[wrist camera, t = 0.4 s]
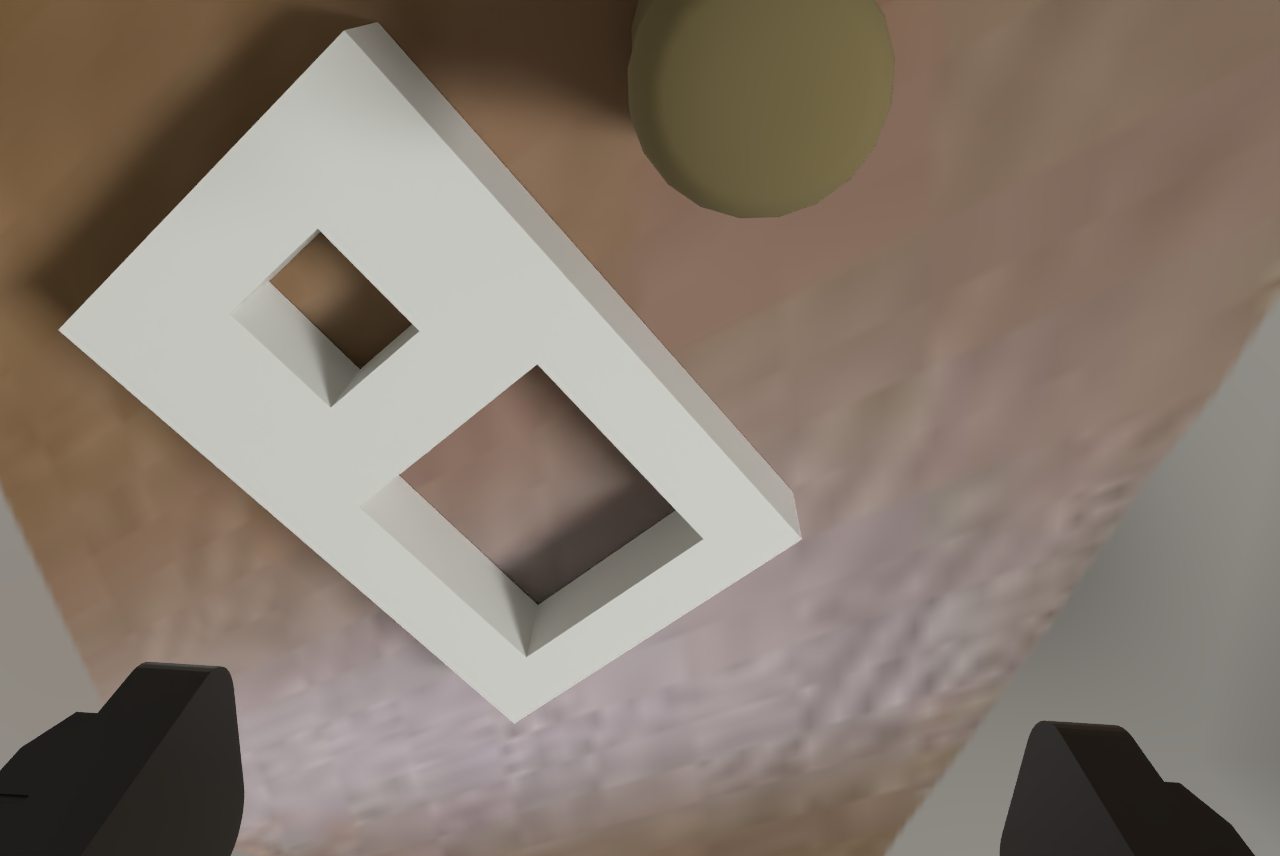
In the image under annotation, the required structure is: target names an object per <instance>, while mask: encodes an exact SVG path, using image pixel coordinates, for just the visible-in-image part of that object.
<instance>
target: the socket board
mask: <svg viewBox="0 0 1280 856" xmlns="http://www.w3.org/2000/svg"><path fill="white" fill-rule="evenodd" d="M320 232H322V233H323V234H324V235H325V236H326V237H327V238H328V240H329V241H330V242H331V243H332V244H333V245H334V246H335V247H336V248H337V249H338V250H339V251H340V252H341V253H342V254H343V255H344V256H345V257H346V258H347V259H348V260H349V261H350V262H351V263H352V264H353V265H354V266H355V267H356V268H357V269H358V270H359V271H360V272H361V273H362V274H363V275H364V276H365V277H366V278H367V279H368V280H369V281H370V282H371V283H372V284H373V285H374V286H375V287H376V288H377V289H378V290H379V291H380V292H381V293H382V294H383V295H384V296H385V297H386V298H387V299H388V300H389V301H390V302H391V303H392V304H393V305H394V306H395V307H396V308H397V309H398V310H399V311H400V312H401V313H402V314H403V315H404V316H405V317H406V318H407V319H408V320H409V321H410V322H411V323H412V325H411V326H409V327H408V328H407V329H406V330H405V331H404V332H402V333H401V334H400V335H399V336H398V337H397V338H396V339H394V340H393V341H392V342H391V343H390V344H389V345H388V346H386V347H385V348H384V349H383V350H382V351H381V352H379V353H378V354H377V355H376V356H375V357H374V358H373V359H371V360H370V361H369V362H368V363H367V364H366V365H364V366H363V367H362V368H361V369H359V368H358V367H357V366H356V365H355V364H354V363H353V362H352V361H351V360H350V359H349V358H348V357H347V356H346V355H345V354H344V353H342V352H341V351H340V350H339V349H338V348H337V347H336V346H335V345H334V344H333V343H332V342H331V341H330V340H329V339H328V338H327V337H326V336H325V335H324V334H323V333H322V332H321V331H320V330H319V329H318V328H317V327H316V326H314V325H313V324H312V323H311V322H310V321H309V320H308V319H307V318H306V317H305V316H304V315H303V314H302V313H301V312H300V311H299V310H298V309H297V308H296V307H295V306H294V305H293V304H292V303H291V302H290V301H289V300H288V299H286V298H285V297H284V296H283V295H282V294H281V293H280V292H279V291H278V290H277V289H276V288H275V287H274V286H273V285H272V284H271V283H270V282H269V281H270V280H271V279H272V278H273V277H274V276H275V275H276V274H277V273H278V272H279V271H280V270H281V269H283V268H284V267H285V266H286V265H287V264H288V263H289V262H290V261H291V260H292V259H293V258H294V257H295V256H296V255H297V254H298V253H299V252H300V251H301V250H302V249H303V248H304V247H305V246H307V245H308V244H309V243H310V242H311V241H312V240H313V239H314V238H315V237H316V236H317V235H318V234H319V233H320ZM59 331H60V332H61V333H62V334H63V335H65V336H66V337H67V338H68V339H69V340H70V341H72V342H73V343H74V344H75V345H76V346H77V347H79V348H80V349H81V350H82V351H83V352H84V353H85V354H87V355H88V356H89V357H90V358H91V359H92V360H94V361H95V362H96V363H97V364H98V365H99V366H101V367H102V368H103V369H104V370H105V371H106V372H107V373H109V374H110V375H111V376H112V377H113V378H114V379H116V380H117V381H118V382H119V383H120V384H121V385H123V386H124V387H125V388H126V389H127V390H128V391H130V392H131V393H132V394H133V395H134V396H135V397H136V398H138V399H139V400H140V401H141V402H142V403H143V404H145V405H146V406H147V407H148V408H149V409H150V410H152V411H153V412H154V413H155V414H156V415H157V416H158V417H160V418H161V419H162V420H163V421H164V422H165V423H167V424H168V425H169V426H170V427H171V428H172V429H174V430H175V431H176V432H177V433H178V434H179V435H180V436H182V437H183V438H184V439H185V440H186V441H187V442H189V443H190V444H191V445H192V446H193V447H194V448H196V449H197V450H198V451H199V452H200V453H201V454H202V455H204V456H205V457H206V458H207V459H208V460H209V461H211V462H212V463H213V464H214V465H215V466H216V467H218V468H219V469H220V470H221V471H222V472H223V473H225V474H226V475H227V476H228V477H229V478H230V479H231V480H233V481H234V482H235V483H236V484H237V485H238V486H240V487H241V488H242V489H243V490H244V491H245V492H247V493H248V494H249V495H250V496H251V497H252V498H253V499H255V500H256V501H257V502H258V503H259V504H260V505H262V506H263V507H264V508H265V509H266V510H267V511H269V512H270V513H271V514H272V515H273V516H274V517H275V518H277V519H278V520H279V521H280V522H281V523H282V524H284V525H285V526H286V527H287V528H288V529H289V530H291V531H292V532H293V533H294V534H295V535H296V536H297V537H299V538H300V539H301V540H302V541H303V542H304V543H306V544H307V545H308V546H309V547H310V548H311V549H313V550H314V551H315V552H316V553H317V554H318V555H320V556H321V557H322V558H323V559H324V560H325V561H326V562H328V563H329V564H330V565H331V566H332V567H333V568H335V569H336V570H337V571H338V572H339V573H340V574H342V575H343V576H344V577H345V578H346V579H347V580H348V581H350V582H351V583H352V584H353V585H354V586H355V587H357V588H358V589H359V590H360V591H361V592H362V593H364V594H365V595H366V596H367V597H368V598H369V599H370V600H372V601H373V602H374V603H375V604H376V605H377V606H379V607H380V608H381V609H382V610H383V611H384V612H386V613H387V614H388V615H389V616H390V617H391V618H392V619H394V620H395V621H396V622H397V623H398V624H399V625H401V626H402V627H403V628H404V629H405V630H406V631H408V632H409V633H410V634H411V635H412V636H413V637H415V638H416V639H417V640H418V641H419V642H420V643H421V644H423V645H424V646H425V647H426V648H427V649H428V650H430V651H431V652H432V653H433V654H434V655H435V656H437V657H438V658H439V659H440V660H441V661H442V662H443V663H445V664H446V665H447V666H448V667H449V668H450V669H452V670H453V671H454V672H455V673H456V674H457V675H459V676H460V677H461V678H462V679H463V680H464V681H465V682H467V683H468V684H469V685H470V686H471V687H472V688H474V689H475V690H476V691H477V692H478V693H479V694H481V695H482V696H483V697H484V698H485V699H486V700H487V701H489V702H490V703H491V704H492V705H493V706H494V707H496V708H497V709H498V710H499V711H500V712H501V713H503V714H504V715H505V716H506V717H507V718H508V719H510V720H511V721H512V722H513V723H516V722H517V721H519V720H520V719H522V718H524V717H525V716H527V715H528V714H530V713H531V712H533V711H534V710H536V709H538V708H539V707H541V706H542V705H544V704H545V703H547V702H549V701H550V700H552V699H553V698H555V697H556V696H558V695H559V694H561V693H563V692H564V691H566V690H567V689H569V688H570V687H572V686H574V685H575V684H577V683H578V682H580V681H581V680H583V679H584V678H586V677H588V676H589V675H591V674H592V673H594V672H595V671H597V670H599V669H600V668H602V667H603V666H605V665H606V664H608V663H609V662H611V661H613V660H614V659H616V658H617V657H619V656H620V655H622V654H624V653H625V652H627V651H628V650H630V649H631V648H633V647H634V646H636V645H638V644H639V643H641V642H642V641H644V640H645V639H647V638H649V637H650V636H652V635H653V634H655V633H656V632H658V631H659V630H661V629H663V628H664V627H666V626H667V625H669V624H670V623H672V622H674V621H675V620H677V619H678V618H680V617H681V616H683V615H684V614H686V613H688V612H689V611H691V610H692V609H694V608H695V607H697V606H699V605H700V604H702V603H703V602H705V601H706V600H708V599H709V598H711V597H713V596H714V595H716V594H717V593H719V592H720V591H722V590H723V589H725V588H727V587H728V586H730V585H731V584H733V583H734V582H736V581H738V580H739V579H741V578H742V577H744V576H745V575H747V574H748V573H750V572H752V571H753V570H755V569H756V568H758V567H759V566H761V565H763V564H764V563H766V562H767V561H769V560H770V559H772V558H773V557H775V556H777V555H778V554H780V553H781V552H783V551H784V550H786V549H788V548H789V547H791V546H792V545H794V544H795V543H797V542H798V541H800V540H802V536H801V531H800V526H799V521H798V516H797V511H796V506H795V501H794V496H793V492H792V491H791V489H790V488H789V487H788V486H787V485H786V484H785V483H784V482H783V480H782V479H781V478H780V477H779V476H778V475H777V474H776V473H775V471H774V470H773V469H772V468H771V467H770V466H769V465H768V463H767V462H766V461H765V460H764V459H763V458H762V457H761V456H760V454H759V453H758V452H757V451H756V450H755V449H754V448H753V446H752V445H751V444H750V443H749V442H748V441H747V440H746V439H745V437H744V436H743V435H742V434H741V433H740V432H739V431H738V429H737V428H736V427H735V426H734V425H733V424H732V423H731V422H730V420H729V419H728V418H727V417H726V416H725V415H724V414H723V412H722V411H721V410H720V409H719V408H718V407H717V406H716V405H715V403H714V402H713V401H712V400H711V399H710V398H709V397H708V395H707V394H706V393H705V392H704V391H703V390H702V389H701V388H700V386H699V385H698V384H697V383H696V382H695V381H694V380H693V379H692V377H691V376H690V375H689V374H688V373H687V372H686V371H685V369H684V368H683V367H682V366H681V365H680V364H679V363H678V362H677V360H676V359H675V358H674V357H673V356H672V355H671V354H670V352H669V351H668V350H667V349H666V348H665V347H664V346H663V345H662V343H661V342H660V341H659V340H658V339H657V338H656V337H655V335H654V334H653V333H652V332H651V331H650V330H649V329H648V328H647V326H646V325H645V324H644V323H643V322H642V321H641V320H640V318H639V317H638V316H637V315H636V314H635V313H634V312H633V311H632V309H631V308H630V307H629V306H628V305H627V304H626V303H625V301H624V300H623V299H622V298H621V297H620V296H619V295H618V294H617V292H616V291H615V290H614V289H613V288H612V287H611V286H610V285H609V283H608V282H607V281H606V280H605V279H604V278H603V277H602V275H601V274H600V273H599V272H598V271H597V270H596V269H595V268H594V266H593V265H592V264H591V263H590V262H589V261H588V260H587V258H586V257H585V256H584V255H583V254H582V253H581V252H580V251H579V249H578V248H577V247H576V246H575V245H574V244H573V243H572V241H571V240H570V239H569V238H568V237H567V236H566V235H565V234H564V232H563V231H562V230H561V229H560V228H559V227H558V226H557V224H556V223H555V222H554V221H553V220H552V219H551V218H550V217H549V215H548V214H547V213H546V212H545V211H544V210H543V209H542V208H541V206H540V205H539V204H538V203H537V202H536V201H535V200H534V198H533V197H532V196H531V195H530V194H529V193H528V192H527V191H526V189H525V188H524V187H523V186H522V185H521V184H520V183H519V181H518V180H517V179H516V178H515V177H514V176H513V175H512V174H511V172H510V171H509V170H508V169H507V168H506V167H505V166H504V164H503V163H502V162H501V161H500V160H499V159H498V158H497V157H496V155H495V154H494V153H493V152H492V151H491V150H490V149H489V147H488V146H487V145H486V144H485V143H484V142H483V141H482V140H481V138H480V137H479V136H478V135H477V134H476V133H475V132H474V130H473V129H472V128H471V127H470V126H469V125H468V124H467V123H466V121H465V120H464V119H463V118H462V117H461V116H460V115H459V114H458V112H457V111H456V110H455V109H454V108H453V107H452V106H451V104H450V103H449V102H448V101H447V100H446V99H445V98H444V97H443V95H442V94H441V93H440V92H439V91H438V90H437V89H436V87H435V86H434V85H433V84H432V83H431V82H430V81H429V80H428V78H427V77H426V76H425V75H424V74H423V73H422V72H421V70H420V69H419V68H418V67H417V66H416V65H415V64H414V63H413V61H412V60H411V59H410V58H409V57H408V56H407V55H406V53H405V52H404V51H403V50H402V49H401V48H400V47H399V46H398V44H397V43H396V42H395V41H394V40H393V39H392V38H391V36H390V35H389V34H388V33H387V32H386V31H385V30H384V29H383V27H382V26H381V25H380V24H379V23H378V22H376V23H372V24H368V25H364V26H359V27H355V28H351V29H347V30H344V31H343V32H342V33H341V34H340V35H339V36H338V37H337V38H336V39H335V40H334V41H333V43H332V44H331V45H330V46H329V47H328V48H327V49H326V50H325V51H324V52H323V53H322V54H321V55H320V56H319V57H318V58H317V59H316V60H315V61H314V62H313V63H312V65H311V66H310V67H309V68H308V69H307V70H306V71H305V72H304V73H303V74H302V75H301V76H300V77H299V78H298V79H297V80H296V81H295V82H294V83H293V84H292V85H291V87H290V88H289V89H288V90H287V91H286V92H285V93H284V94H283V95H282V96H281V97H280V98H279V99H278V100H277V101H276V102H275V103H274V104H273V105H272V106H271V108H270V109H269V110H268V111H267V112H266V113H265V114H264V115H263V116H262V117H261V118H260V119H259V120H258V121H257V122H256V123H255V124H254V125H253V126H252V127H251V128H250V130H249V131H248V132H247V133H246V134H245V135H244V136H243V137H242V138H241V139H240V140H239V141H238V142H237V143H236V144H235V145H234V146H233V147H232V148H231V149H230V150H229V152H228V153H227V154H226V155H225V156H224V157H223V158H222V159H221V160H220V161H219V162H218V163H217V164H216V165H215V166H214V167H213V168H212V169H211V170H210V171H209V173H208V174H207V175H206V176H205V177H204V178H203V179H202V180H201V181H200V182H199V183H198V184H197V185H196V186H195V187H194V188H193V189H192V190H191V191H190V192H189V193H188V195H187V196H186V197H185V198H184V199H183V200H182V201H181V202H180V203H179V204H178V205H177V206H176V207H175V208H174V209H173V210H172V211H171V212H170V213H169V214H168V215H167V217H166V218H165V219H164V220H163V221H162V222H161V223H160V224H159V225H158V226H157V227H156V228H155V229H154V230H153V231H152V232H151V233H150V234H149V235H148V236H147V238H146V239H145V240H144V241H143V242H142V243H141V244H140V245H139V246H138V247H137V248H136V249H135V250H134V251H133V252H132V253H131V254H130V255H129V256H128V257H127V258H126V260H125V261H124V262H123V263H122V264H121V265H120V266H119V267H118V268H117V269H116V270H115V271H114V272H113V273H112V274H111V275H110V276H109V277H108V278H107V279H106V280H105V282H104V283H103V284H102V285H101V286H100V287H99V288H98V289H97V290H96V291H95V292H94V293H93V294H92V295H91V296H90V297H89V298H88V299H87V300H86V301H85V303H84V304H83V305H82V306H81V307H80V308H79V309H78V310H77V311H76V312H75V313H74V314H73V315H72V316H71V317H70V318H69V319H68V320H67V321H66V322H65V323H64V325H63V326H62V327H61V328H60V329H59ZM536 365H538V366H539V367H540V368H541V369H542V370H543V371H544V372H545V373H546V374H547V375H548V376H549V377H550V378H551V379H552V380H553V381H554V382H555V383H556V385H557V386H558V387H559V388H560V389H561V390H562V391H563V392H564V393H565V394H566V395H567V396H568V397H569V398H570V399H571V400H572V401H573V402H574V403H575V405H576V406H577V407H578V408H579V409H580V410H581V411H582V412H583V413H584V414H585V415H586V416H587V417H588V418H589V419H590V420H591V421H592V422H593V423H594V424H595V426H596V427H597V428H598V429H599V430H600V431H601V432H602V433H603V434H604V435H605V436H606V437H607V438H608V439H609V440H610V441H611V442H612V443H613V444H614V446H615V447H616V448H617V449H618V450H619V451H620V452H621V453H622V454H623V455H624V456H625V457H626V458H627V459H628V460H629V461H630V462H631V463H632V464H633V466H634V467H635V468H636V469H637V470H638V471H639V472H640V473H641V474H642V475H643V476H644V477H645V478H646V479H647V480H648V481H649V482H650V483H651V484H652V486H653V487H654V488H655V489H656V490H657V491H658V492H659V493H660V494H661V495H662V496H663V497H664V498H665V499H666V500H667V501H668V502H669V503H670V504H671V505H672V507H673V508H674V509H675V511H674V512H672V513H671V514H669V515H668V516H667V517H665V518H664V519H662V520H661V521H659V522H658V523H656V524H655V525H654V526H652V527H651V528H649V529H648V530H646V531H645V532H643V533H642V534H640V535H639V536H638V537H636V538H635V539H633V540H632V541H630V542H629V543H627V544H626V545H624V546H623V547H622V548H620V549H619V550H617V551H616V552H614V553H613V554H611V555H610V556H608V557H607V558H606V559H604V560H603V561H601V562H600V563H598V564H597V565H595V566H594V567H592V568H591V569H590V570H588V571H587V572H585V573H584V574H582V575H581V576H579V577H578V578H576V579H575V580H574V581H572V582H571V583H569V584H568V585H566V586H565V587H563V588H562V589H560V590H559V591H558V592H556V593H555V594H553V595H552V596H550V597H549V598H547V599H546V600H544V601H543V602H542V603H540V604H539V605H537V604H536V603H535V602H534V601H533V600H532V599H531V598H530V597H529V596H528V595H527V594H525V593H524V592H523V591H522V590H521V589H520V588H519V587H518V586H517V585H516V584H515V583H514V582H513V581H512V580H510V579H509V578H508V577H507V576H506V575H505V574H504V573H503V572H502V571H501V570H500V569H499V568H498V567H497V566H495V565H494V564H493V563H492V562H491V561H490V560H489V559H488V558H487V557H486V556H485V555H484V554H483V553H482V552H480V551H479V550H478V549H477V548H476V547H475V546H474V545H473V544H472V543H471V542H470V541H469V540H468V539H467V538H465V537H464V536H463V535H462V534H461V533H460V532H459V531H458V530H457V529H456V528H455V527H454V526H453V525H451V524H450V523H449V522H448V521H447V520H446V519H445V518H444V517H443V516H442V515H441V514H440V513H439V512H438V511H436V510H435V509H434V508H433V507H432V506H431V505H430V504H429V503H428V502H427V501H426V500H425V499H424V498H423V497H421V496H420V495H419V494H418V493H417V492H416V491H415V490H414V489H413V488H412V487H411V486H410V485H409V484H408V483H406V482H405V481H404V480H403V479H402V478H401V477H400V476H399V474H401V473H402V472H403V471H404V470H406V469H407V468H408V467H409V466H411V465H412V464H413V463H414V462H416V461H417V460H418V459H419V458H421V457H422V456H423V455H424V454H426V453H427V452H428V451H429V450H431V449H432V448H433V447H434V446H436V445H437V444H438V443H439V442H441V441H442V440H443V439H444V438H446V437H447V436H448V435H449V434H451V433H452V432H453V431H454V430H456V429H457V428H458V427H459V426H461V425H462V424H463V423H464V422H466V421H467V420H468V419H469V418H471V417H472V416H473V415H474V414H476V413H477V412H478V411H479V410H481V409H482V408H483V407H484V406H486V405H487V404H488V403H489V402H491V401H492V400H493V399H494V398H496V397H497V396H498V395H499V394H501V393H502V392H503V391H504V390H506V389H507V388H508V387H509V386H511V385H512V384H513V383H514V382H516V381H517V380H518V379H519V378H521V377H522V376H523V375H524V374H526V373H527V372H528V371H529V370H531V369H532V368H533V367H534V366H536Z"/></svg>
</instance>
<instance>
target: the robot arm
mask: <svg viewBox="0 0 1280 856" xmlns="http://www.w3.org/2000/svg"><path fill="white" fill-rule="evenodd" d="M243 806H244V782H243V773H242V763H241V753H240V744H239V734H238V725H237V715H236V705H235V696H234V687H233V681H232V678H231V675H230V673H229V671H228V670H227V669H226V668H225V667H221V666H205V665H189V664H173V663H157V662H145V663H142V664H140V665H139V666H138V667H136V668H135V669H134V670H133V671H132V672H131V674H130V675H129V676H128V677H127V678H126V680H125V681H124V682H123V683H122V684H121V686H120V687H119V688H118V689H117V690H116V692H115V693H114V694H113V695H112V697H111V698H110V699H109V700H108V701H107V703H106V704H105V705H104V706H103V707H102V709H101V710H100V711H99V712H98V713H84V712H76V713H74V714H73V715H71V716H69V717H68V718H66V719H65V720H63V721H62V722H60V723H59V724H57V725H56V726H54V727H52V728H51V729H49V730H48V731H46V732H45V733H43V734H42V735H40V736H38V737H37V738H36V739H34V740H32V741H31V742H29V743H28V744H26V745H24V746H23V747H22V748H20V749H19V750H18V752H17V753H16V754H15V755H14V756H13V757H12V758H11V759H10V760H9V762H8V763H7V764H6V765H5V766H4V767H3V768H2V769H1V770H0V856H230V855H231V853H232V851H233V848H234V846H235V843H236V840H237V837H238V833H239V829H240V825H241V820H242V814H243ZM1000 856H1255V855H1254V854H1253V853H1252V851H1251V850H1250V849H1249V847H1248V846H1247V845H1246V843H1245V842H1244V841H1243V839H1242V838H1241V837H1240V835H1239V834H1238V833H1237V832H1236V830H1235V829H1234V828H1233V826H1232V825H1231V824H1230V823H1229V822H1227V821H1226V820H1225V819H1224V818H1222V817H1221V816H1220V815H1219V814H1217V813H1216V812H1215V811H1214V810H1212V809H1211V808H1210V807H1209V806H1208V805H1206V804H1205V803H1204V802H1203V801H1201V800H1200V799H1199V798H1198V797H1196V796H1195V795H1194V794H1193V793H1191V792H1190V791H1189V790H1188V789H1186V788H1185V787H1184V786H1183V785H1182V784H1180V783H1173V782H1164V781H1163V780H1162V778H1161V777H1160V776H1159V774H1158V773H1157V771H1156V770H1155V768H1154V767H1153V766H1152V764H1151V763H1150V761H1149V760H1148V759H1147V758H1146V756H1145V754H1144V753H1143V752H1142V750H1141V749H1140V747H1139V746H1138V744H1137V743H1136V742H1135V740H1134V739H1133V737H1132V736H1131V735H1130V734H1129V733H1128V732H1127V731H1126V730H1125V729H1124V728H1122V727H1120V726H1116V725H1104V724H1087V723H1072V722H1056V721H1041V722H1039V723H1037V724H1036V725H1035V727H1034V728H1033V729H1032V731H1031V733H1030V736H1029V739H1028V742H1027V745H1026V749H1025V753H1024V757H1023V760H1022V764H1021V768H1020V771H1019V775H1018V778H1017V782H1016V786H1015V790H1014V793H1013V797H1012V800H1011V804H1010V808H1009V811H1008V815H1007V819H1006V822H1005V826H1004V830H1003V833H1002V838H1001V844H1000Z"/></svg>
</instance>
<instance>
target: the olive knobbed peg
mask: <svg viewBox="0 0 1280 856" xmlns="http://www.w3.org/2000/svg"><path fill="white" fill-rule="evenodd" d="M631 43H632V53H631V57H630V61H629V65H628V69H627V73H628V95H629V113H630V116H631V119H632V122H633V125H634V127H635V130H636V133H637V136H638V138H639V141H640V144H641V147H642V150H643V152H644V154H645V155H646V156H647V158H648V159H649V160H650V161H651V163H652V164H653V165H654V167H655V168H656V169H657V171H658V172H659V173H660V174H661V176H662V177H663V178H664V180H665V181H666V182H667V184H668V185H670V186H671V187H673V188H674V189H676V190H677V191H679V192H680V193H681V194H683V195H684V196H686V197H687V198H689V199H690V200H692V201H693V202H695V203H696V204H697V205H699V206H700V207H704V208H707V209H710V210H714V211H717V212H721V213H724V214H728V215H731V216H735V217H738V218H757V217H780V216H783V215H786V214H789V213H792V212H794V211H797V210H800V209H803V208H806V207H809V206H812V205H815V204H817V203H818V202H820V201H821V200H822V199H824V198H825V197H826V196H828V195H829V194H831V193H832V192H833V191H835V190H836V189H837V188H839V187H840V186H842V185H843V184H844V183H846V182H847V181H848V180H850V178H851V177H852V176H853V174H854V173H855V172H856V171H857V169H858V168H859V167H860V165H861V164H862V163H863V161H864V160H865V159H866V157H867V156H868V155H869V154H870V152H871V151H872V150H873V148H874V147H875V145H876V142H877V140H878V137H879V134H880V132H881V129H882V127H883V124H884V121H885V119H886V116H887V114H888V111H889V108H890V106H891V103H892V90H893V77H894V63H895V57H894V53H893V49H892V45H891V41H890V36H889V32H888V28H887V24H886V20H885V15H884V14H883V12H882V11H881V9H880V7H879V6H878V4H877V3H876V1H875V0H638V3H637V7H636V11H635V15H634V18H633V22H632V26H631Z"/></svg>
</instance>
